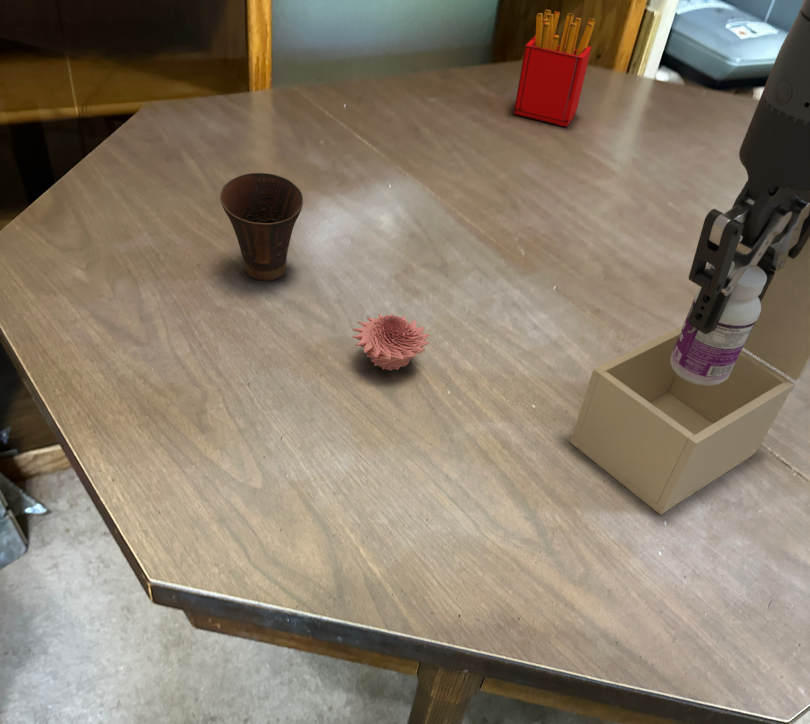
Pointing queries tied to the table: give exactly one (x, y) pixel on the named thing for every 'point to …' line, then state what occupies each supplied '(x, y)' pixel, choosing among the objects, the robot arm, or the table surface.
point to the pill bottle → (720, 334)
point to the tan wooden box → (674, 421)
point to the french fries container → (553, 70)
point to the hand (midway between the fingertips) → (722, 316)
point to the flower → (391, 341)
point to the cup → (262, 220)
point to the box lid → (785, 317)
